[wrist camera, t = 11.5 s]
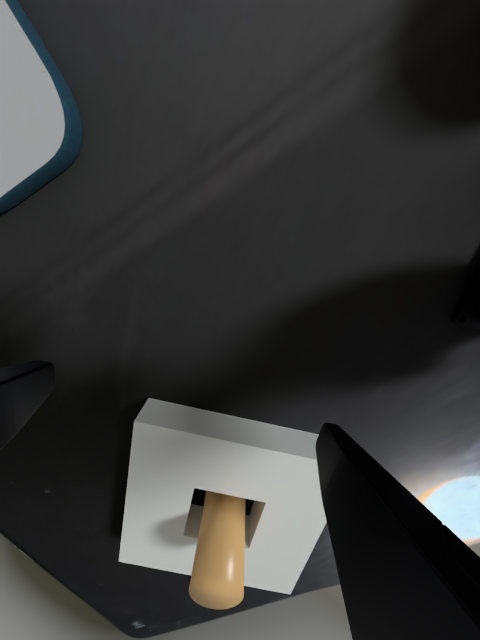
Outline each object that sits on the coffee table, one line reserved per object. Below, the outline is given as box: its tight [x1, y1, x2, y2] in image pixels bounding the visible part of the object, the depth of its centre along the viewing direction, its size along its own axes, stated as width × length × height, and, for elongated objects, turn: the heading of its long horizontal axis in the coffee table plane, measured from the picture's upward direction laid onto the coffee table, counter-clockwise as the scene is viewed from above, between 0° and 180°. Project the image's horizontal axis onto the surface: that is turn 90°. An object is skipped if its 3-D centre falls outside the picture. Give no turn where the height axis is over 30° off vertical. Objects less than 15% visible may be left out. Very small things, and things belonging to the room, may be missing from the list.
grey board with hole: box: [119, 398, 327, 594], centre depth 26 cm, size 18×25×3 cm
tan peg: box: [189, 491, 246, 609], centre depth 22 cm, size 4×4×8 cm
